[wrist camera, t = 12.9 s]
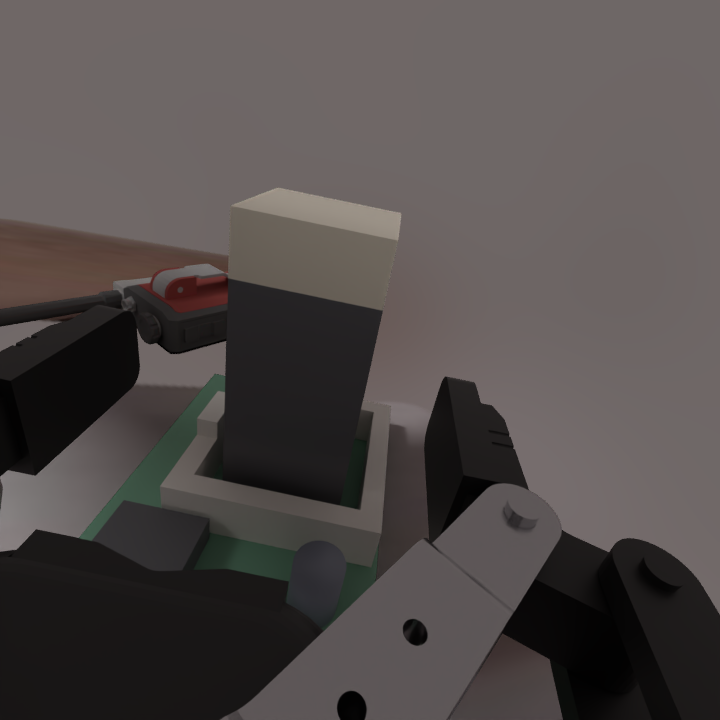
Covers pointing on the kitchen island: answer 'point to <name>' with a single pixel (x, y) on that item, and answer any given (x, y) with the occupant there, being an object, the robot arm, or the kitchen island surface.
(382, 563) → the kitchen island surface
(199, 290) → the walkie-talkie
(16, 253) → the kitchen island surface
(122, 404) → the kitchen island surface
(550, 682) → the kitchen island surface
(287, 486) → the grey and cream block
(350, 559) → the controller board
